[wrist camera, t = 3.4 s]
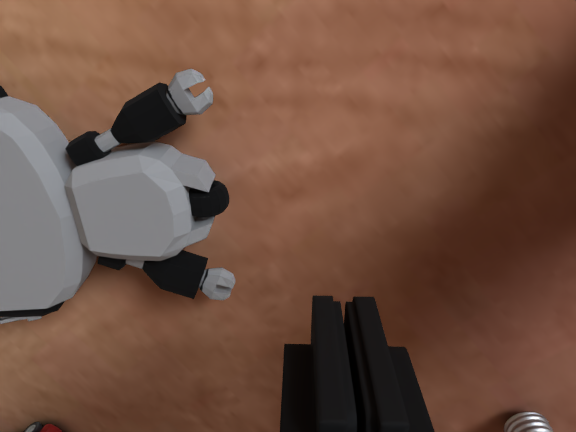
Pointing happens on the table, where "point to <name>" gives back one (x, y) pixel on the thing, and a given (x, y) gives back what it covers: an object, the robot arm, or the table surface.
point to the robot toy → (104, 201)
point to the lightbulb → (527, 423)
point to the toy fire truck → (42, 428)
